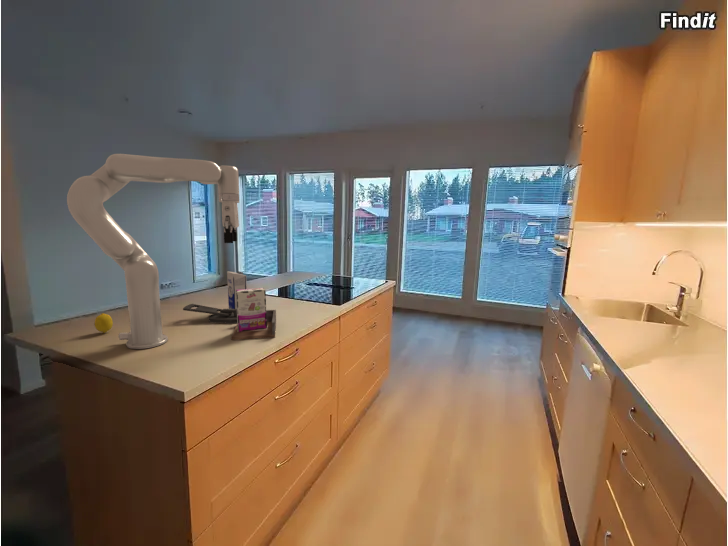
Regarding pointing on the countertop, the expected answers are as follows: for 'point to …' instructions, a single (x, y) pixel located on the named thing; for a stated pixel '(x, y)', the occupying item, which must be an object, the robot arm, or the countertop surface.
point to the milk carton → (235, 286)
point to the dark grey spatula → (215, 313)
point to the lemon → (103, 323)
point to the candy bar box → (251, 309)
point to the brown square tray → (258, 333)
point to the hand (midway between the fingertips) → (230, 242)
